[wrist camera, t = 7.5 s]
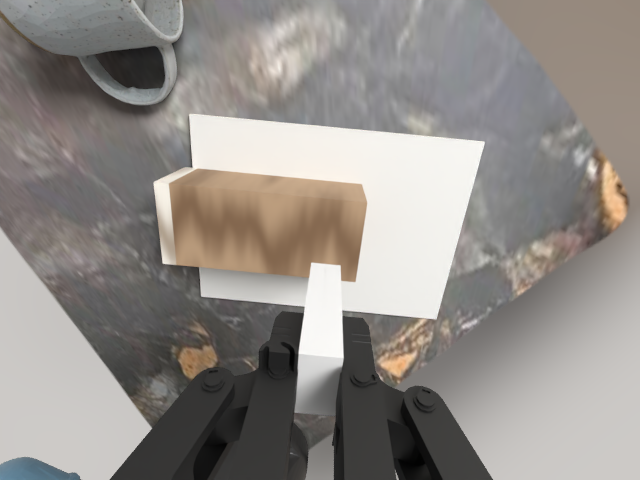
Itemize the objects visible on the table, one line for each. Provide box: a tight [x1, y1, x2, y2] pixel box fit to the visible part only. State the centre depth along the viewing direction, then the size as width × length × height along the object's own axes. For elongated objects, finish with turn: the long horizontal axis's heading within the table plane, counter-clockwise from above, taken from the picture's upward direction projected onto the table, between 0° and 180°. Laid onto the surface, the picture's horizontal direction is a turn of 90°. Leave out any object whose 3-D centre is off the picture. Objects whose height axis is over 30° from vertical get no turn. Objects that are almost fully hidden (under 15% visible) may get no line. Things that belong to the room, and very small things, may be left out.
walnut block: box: [154, 167, 367, 282], centre depth 25 cm, size 6×5×14 cm
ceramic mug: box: [0, 0, 184, 105], centre depth 19 cm, size 11×8×8 cm
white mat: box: [189, 114, 485, 319], centre depth 28 cm, size 16×22×1 cm
